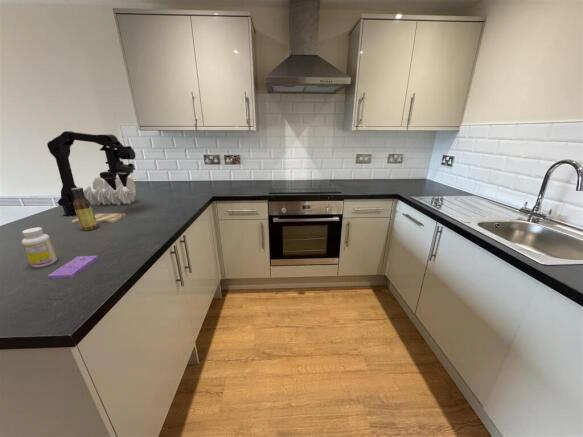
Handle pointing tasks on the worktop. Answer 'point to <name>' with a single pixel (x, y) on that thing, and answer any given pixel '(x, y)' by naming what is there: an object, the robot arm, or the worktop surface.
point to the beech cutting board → (105, 217)
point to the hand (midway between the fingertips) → (120, 188)
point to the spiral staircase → (110, 192)
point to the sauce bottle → (84, 210)
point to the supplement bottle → (38, 247)
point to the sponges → (73, 267)
